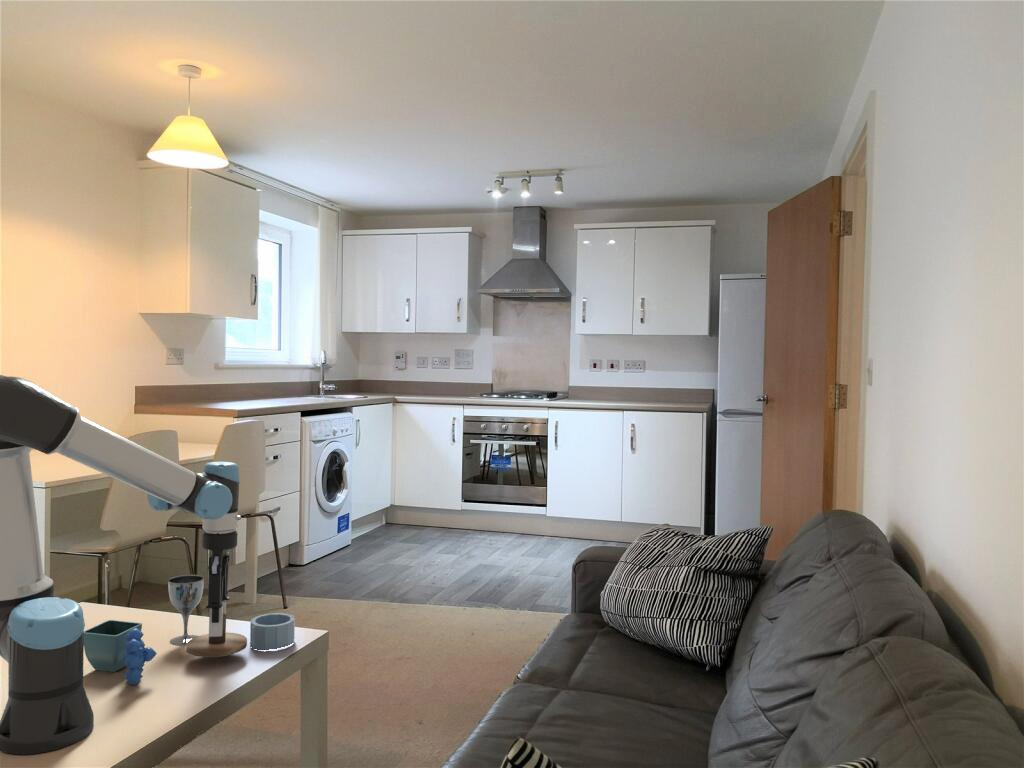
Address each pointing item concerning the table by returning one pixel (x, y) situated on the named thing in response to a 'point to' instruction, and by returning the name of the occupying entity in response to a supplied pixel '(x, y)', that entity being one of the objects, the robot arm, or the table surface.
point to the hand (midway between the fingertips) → (217, 632)
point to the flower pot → (108, 644)
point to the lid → (216, 644)
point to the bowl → (272, 631)
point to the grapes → (136, 656)
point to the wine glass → (185, 600)
